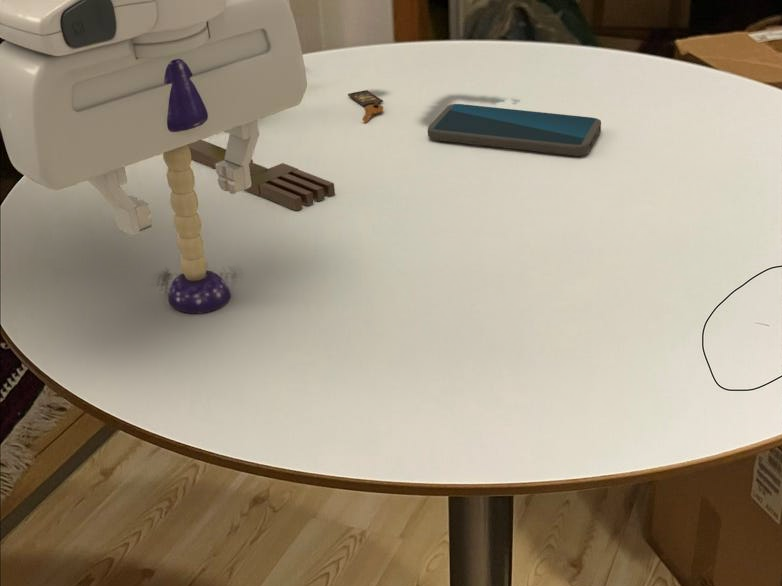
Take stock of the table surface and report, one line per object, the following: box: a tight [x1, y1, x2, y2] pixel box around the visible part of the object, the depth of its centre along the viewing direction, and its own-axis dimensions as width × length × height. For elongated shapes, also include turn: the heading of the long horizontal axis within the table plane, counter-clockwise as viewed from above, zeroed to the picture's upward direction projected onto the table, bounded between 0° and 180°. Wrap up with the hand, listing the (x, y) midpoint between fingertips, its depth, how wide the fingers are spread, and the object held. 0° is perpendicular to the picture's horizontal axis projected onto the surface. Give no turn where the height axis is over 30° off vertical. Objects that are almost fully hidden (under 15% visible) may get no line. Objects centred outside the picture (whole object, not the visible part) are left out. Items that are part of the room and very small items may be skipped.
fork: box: [187, 139, 336, 212], centre depth 90 cm, size 20×4×1 cm, turn 49°
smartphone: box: [427, 103, 602, 157], centre depth 96 cm, size 8×15×1 cm, turn 73°
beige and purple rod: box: [162, 59, 231, 314], centre depth 68 cm, size 5×5×17 cm
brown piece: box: [347, 89, 384, 123], centre depth 102 cm, size 8×3×1 cm, turn 17°
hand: (187, 208), depth 69 cm, fingers open, 7 cm apart
